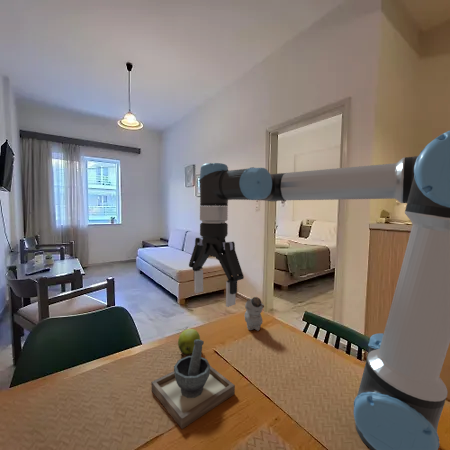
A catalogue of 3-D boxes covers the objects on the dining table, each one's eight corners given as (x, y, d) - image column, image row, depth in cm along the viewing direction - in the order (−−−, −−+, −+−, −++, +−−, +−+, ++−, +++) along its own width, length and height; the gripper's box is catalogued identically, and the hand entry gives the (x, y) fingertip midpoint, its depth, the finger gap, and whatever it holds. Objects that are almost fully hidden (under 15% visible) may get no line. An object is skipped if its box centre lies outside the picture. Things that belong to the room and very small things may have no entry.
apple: (201, 345, 94) (201, 324, 94) (198, 360, 85) (198, 337, 85) (180, 344, 95) (181, 323, 94) (175, 359, 86) (175, 336, 85)
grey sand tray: (234, 394, 70) (234, 385, 70) (181, 429, 59) (182, 418, 59) (200, 365, 82) (200, 358, 82) (151, 390, 71) (151, 381, 71)
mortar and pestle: (201, 407, 64) (202, 362, 63) (168, 399, 66) (168, 355, 65) (214, 378, 75) (215, 339, 74) (185, 372, 77) (185, 334, 76)
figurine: (240, 333, 104) (241, 297, 103) (248, 322, 113) (248, 290, 112) (261, 337, 101) (262, 301, 99) (267, 326, 110) (268, 293, 109)
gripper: (258, 223, 62) (257, 307, 64) (197, 219, 80) (197, 285, 82) (237, 225, 57) (236, 316, 59) (177, 220, 75) (177, 290, 77)
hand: (213, 298), depth 70 cm, fingers open, 13 cm apart
